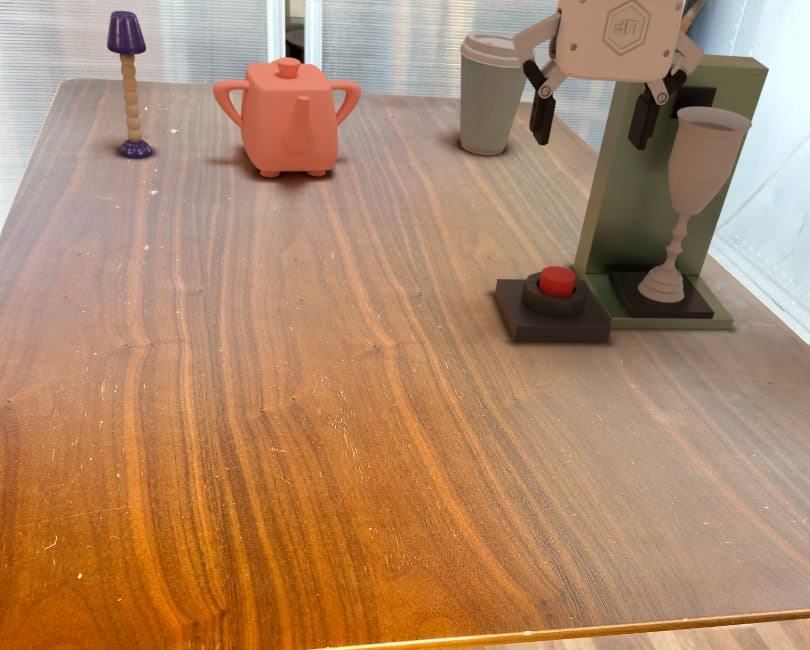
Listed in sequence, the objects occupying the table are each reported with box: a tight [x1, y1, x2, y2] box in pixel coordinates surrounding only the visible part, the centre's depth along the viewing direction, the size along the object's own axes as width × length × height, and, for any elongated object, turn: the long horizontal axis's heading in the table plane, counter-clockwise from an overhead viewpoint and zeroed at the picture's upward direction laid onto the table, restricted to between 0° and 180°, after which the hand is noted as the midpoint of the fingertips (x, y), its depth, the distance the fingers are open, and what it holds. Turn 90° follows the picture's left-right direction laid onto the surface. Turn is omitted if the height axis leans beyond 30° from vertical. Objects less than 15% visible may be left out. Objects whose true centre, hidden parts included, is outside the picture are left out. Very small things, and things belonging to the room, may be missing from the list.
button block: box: [494, 271, 613, 344], centre depth 93 cm, size 10×10×4 cm
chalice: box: [638, 107, 753, 303], centre depth 90 cm, size 7×7×18 cm
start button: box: [539, 265, 577, 296], centre depth 91 cm, size 4×4×2 cm
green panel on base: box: [572, 52, 770, 330], centre depth 92 cm, size 14×14×24 cm
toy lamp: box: [106, 10, 154, 160], centre depth 112 cm, size 5×5×17 cm
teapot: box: [212, 56, 362, 178], centre depth 115 cm, size 17×16×13 cm
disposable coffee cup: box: [458, 31, 536, 156], centre depth 125 cm, size 11×11×15 cm
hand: (588, 142), depth 82 cm, fingers open, 9 cm apart
